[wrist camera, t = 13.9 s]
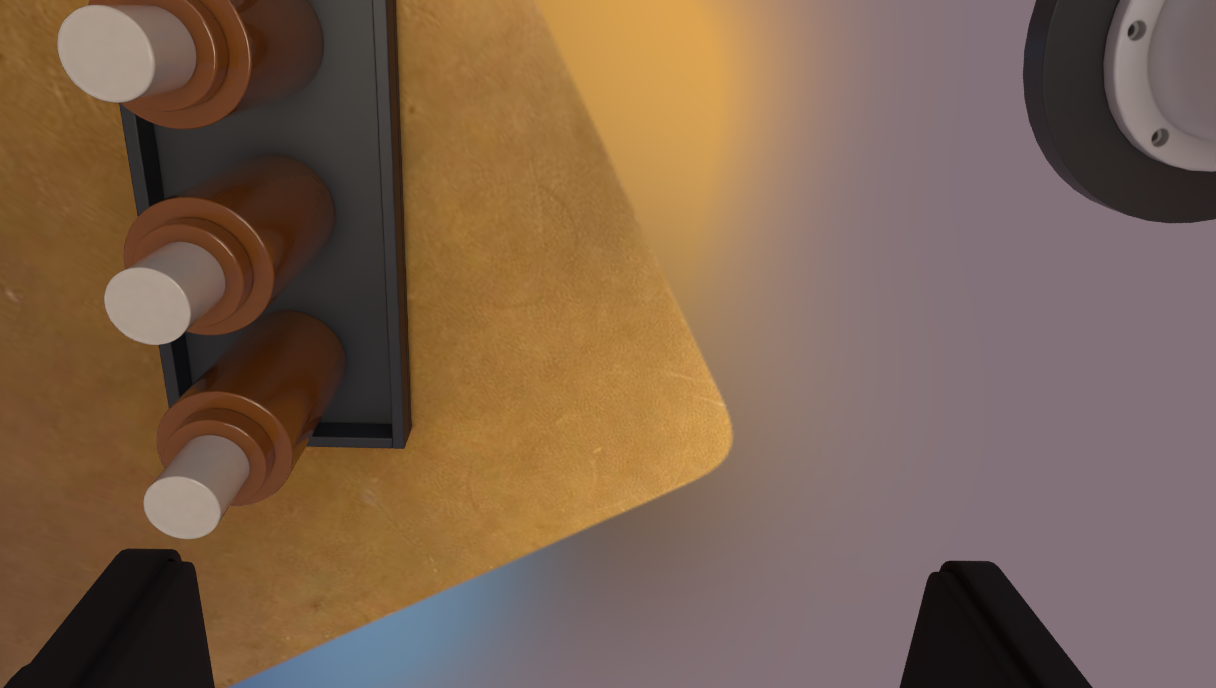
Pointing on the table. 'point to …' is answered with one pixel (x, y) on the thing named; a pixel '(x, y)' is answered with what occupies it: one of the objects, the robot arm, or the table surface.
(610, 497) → the table surface
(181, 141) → the tray
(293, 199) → the bottle
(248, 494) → the loose bottle
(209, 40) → the bottle
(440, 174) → the table surface
